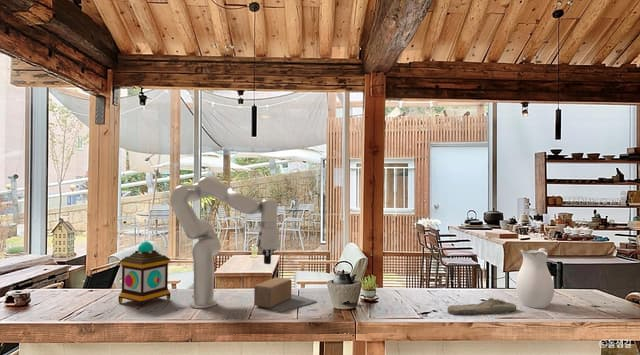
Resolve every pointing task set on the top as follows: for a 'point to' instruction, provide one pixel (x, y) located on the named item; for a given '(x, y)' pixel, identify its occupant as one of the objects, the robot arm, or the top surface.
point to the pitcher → (534, 280)
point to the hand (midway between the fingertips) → (267, 263)
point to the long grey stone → (482, 307)
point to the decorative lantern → (144, 275)
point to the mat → (292, 303)
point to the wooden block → (272, 292)
